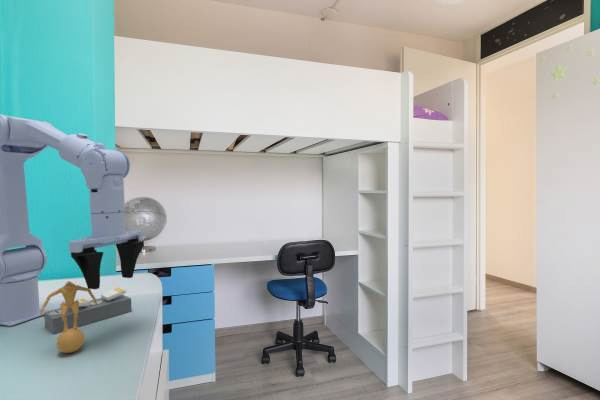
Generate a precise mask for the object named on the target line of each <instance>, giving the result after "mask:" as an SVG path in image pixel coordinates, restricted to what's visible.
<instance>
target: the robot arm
mask: <svg viewBox="0 0 600 400" xmlns="http://www.w3.org/2000/svg"><path fill="white" fill-rule="evenodd" d="M48 147H50V148H52V149H54V150H56V151H57V153H58V155H59V157H60V158H61V159H62V160H63V161H65V162H67V163H69V164H71V165H72V166H74V167H76V168H79V169H80V171H81V174H82V176H83V177H84V179H85V186H86V187H87V189H88V190H89V204H90V206H89V208H90V223H91V226H90V227H91V228H90V229H91V235H90V236H87V237H83V238H82V237H81V238H79V239H75V240H69V241H68V247H69V249H68V250H69V253H70V256H71V257H70V258H72V260H74V261H75V263H76V265H77V266H78V268H79V269H80V271H81V273H82V275H83V278H84V281H85V284H86V286H87V287H86V288H88V289H90V290H98V289H100V285H101V266H102V265H101V263H102V259H103V255H104V252H103V251H98V250H97V249H98V248H99V249H100V248H103V247H108V246H113V245H115V246H116V249H117V252H118V256H119V260H120V262H119V263H120V270H121V271H120V272H121V276H122V278H127V279H133V278H134V273H135V272H134V271H135V268H136V264H137V261H138V258H139V255H140V254H141V251H142V249H143V248H144V245H145V242H144V241H143V239H144V235H143V234H144V233H143V230H139V229H134V230H127V229H126V208H125V207H126V206H125V205H126V204H125V186H124V185H125V182H124V179H126V178H127V176H128V175H129V172H130V170H131V161H130V159H129V157H128V156H127V154H126V153H125V152H123V151H122V150H121V149H108V148H107V147H106V145H105V144H104V143H101V142H94V141H93V140H91V139H89V135H88V134H86V133H85V134H84V133H80V132H79V133H78V132H77V133H76V134H75V133H73V134H69V135H68V134H66V133H65V132H63V131H61V130H60V129H58V128H56V127H54V126H53V124H52V123H49V122H47V121H44V120H36V119H30V118H23V117H17V116H9V115H5V114H4V115H3V114H2V113H0V325H3V326H8V327H12V326H13V327H14V326H16V325H18V324H21V323H24V322H28V321H30V320H33V319H36V318H39V317H41V316H44V312H47V311H49V310H48V309H47V310H46V309H44V311H43V314H42V315H41V309H42V308H41V309H40V292H39V277H38V276H40V275H42V271H43V270H44V269H45V267H46V265H47V261H48V258H47V257H48V256H47V252H46V251H45V248H44V245H43V240H42V239H41V238H39V237H37V236H36V235H33V234H32V233H31V231H30V230H31V229H30V221H29V219H30V218H29V209H28V208H29V207H28V198H27V186H26V174H25V163H26V162H27V161H28V160H29V159H32V158H34V157H36V156H37V155H39V154H40V153H41V152H43V151H44V150H45V149H47V148H48Z"/></svg>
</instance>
